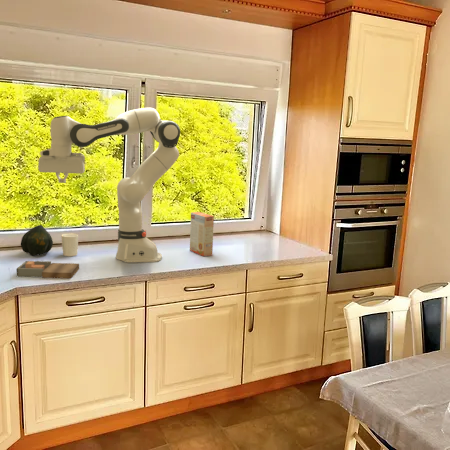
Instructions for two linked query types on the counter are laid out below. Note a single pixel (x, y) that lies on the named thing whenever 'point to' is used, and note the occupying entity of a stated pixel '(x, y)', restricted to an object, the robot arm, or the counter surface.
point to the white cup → (69, 244)
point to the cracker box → (201, 233)
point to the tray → (31, 269)
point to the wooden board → (60, 270)
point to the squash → (36, 241)
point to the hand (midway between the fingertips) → (62, 182)
